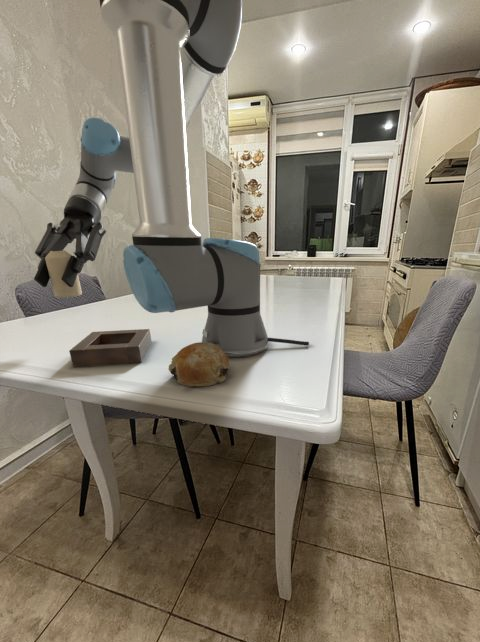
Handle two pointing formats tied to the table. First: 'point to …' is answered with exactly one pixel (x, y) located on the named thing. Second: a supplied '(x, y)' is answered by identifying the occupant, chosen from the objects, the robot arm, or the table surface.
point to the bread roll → (199, 365)
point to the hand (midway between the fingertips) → (53, 282)
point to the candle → (61, 274)
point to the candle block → (111, 348)
